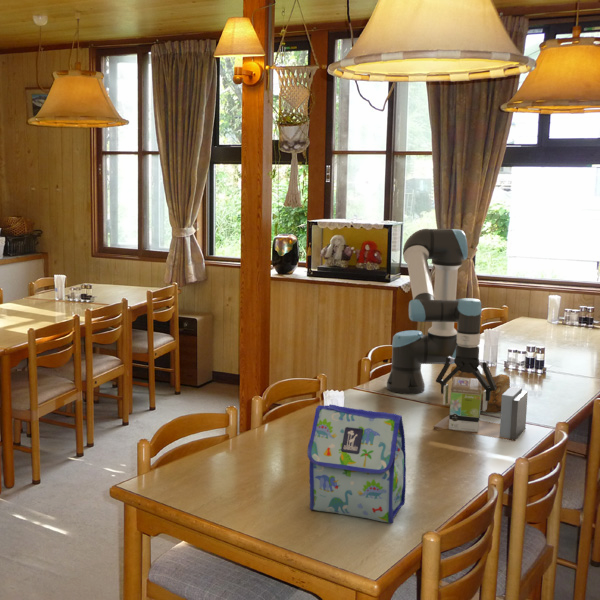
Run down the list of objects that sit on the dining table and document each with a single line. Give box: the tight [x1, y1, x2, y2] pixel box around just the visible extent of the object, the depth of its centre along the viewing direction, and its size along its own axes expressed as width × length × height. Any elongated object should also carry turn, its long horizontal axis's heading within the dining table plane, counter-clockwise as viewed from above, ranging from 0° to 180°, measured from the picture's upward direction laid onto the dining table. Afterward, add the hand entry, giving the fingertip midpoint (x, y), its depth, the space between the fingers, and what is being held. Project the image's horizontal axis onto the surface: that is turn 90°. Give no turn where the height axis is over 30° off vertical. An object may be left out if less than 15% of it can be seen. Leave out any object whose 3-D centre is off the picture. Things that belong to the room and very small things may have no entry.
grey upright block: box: [499, 385, 523, 439], centre depth 240 cm, size 4×12×14 cm, turn 150°
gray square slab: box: [510, 389, 529, 441], centre depth 239 cm, size 2×13×13 cm, turn 150°
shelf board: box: [433, 414, 527, 442], centre depth 247 cm, size 27×15×1 cm, turn 60°
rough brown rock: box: [450, 365, 511, 414], centre depth 268 cm, size 23×17×15 cm
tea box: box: [448, 377, 482, 432], centre depth 248 cm, size 15×10×15 cm, turn 166°
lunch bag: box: [306, 403, 407, 524], centre depth 182 cm, size 22×17×26 cm
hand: (464, 406), depth 248 cm, fingers open, 13 cm apart
